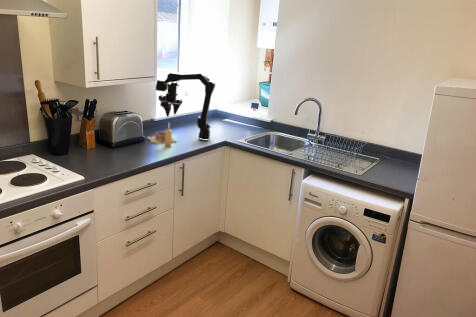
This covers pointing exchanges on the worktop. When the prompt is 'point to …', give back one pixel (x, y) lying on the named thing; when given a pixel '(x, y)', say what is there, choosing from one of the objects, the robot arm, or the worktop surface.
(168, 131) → the orange tapered piece
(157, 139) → the beige board with box
